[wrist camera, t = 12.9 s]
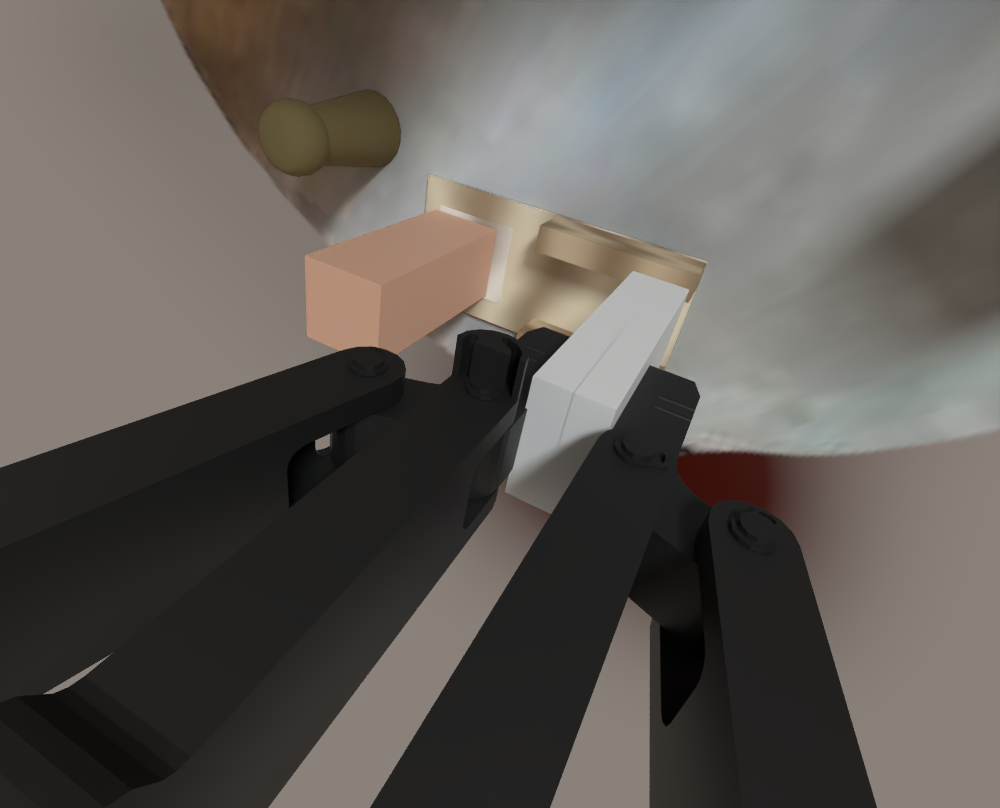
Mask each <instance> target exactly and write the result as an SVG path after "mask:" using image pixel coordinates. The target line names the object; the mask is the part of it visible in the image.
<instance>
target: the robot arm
mask: <svg viewBox="0 0 1000 808" xmlns="http://www.w3.org/2000/svg"><path fill="white" fill-rule="evenodd" d="M688 292H689V289H686V288H683V287H680V286H677V285H674V284H671V283H668V282H665V281H662V280H659V279H656V278H653V277H650V276H647V275H644V274H641V273H638V272H635V271H633V272H632V273H631V274H630V275H629V276H628V277H627V278H626V279H625V280H624V281H623V282H622V283H621V284H620V285H619V286H618V287H617V288H616V289H615V290H614V291H613V293H612V294H611V295H610V296H609V297H608V298H607V299H606V300H605V301H604V302H603V303H602V304H601V305H600V306H599V307H598V308H597V309H596V310H595V311H594V312H593V314H592V315H591V316H590V317H589V318H588V319H587V320H586V321H585V322H584V323H583V324H582V325H581V326H580V327H579V328H578V329H577V330H576V331H575V332H574V333H573V334H572V336H571V337H570V336H567V335H564V334H562V333H559V332H556V331H554V330H551V329H548V328H546V327H541V328H538V329H534V330H531V331H527V332H526V333H525V334H523V335H522V336H521V337H520V338H519V339H518V340H517V339H515V338H513V337H512V336H510V335H508V334H504V333H501V332H497V331H492V330H481V329H479V330H471V331H466V332H464V333H461V334H459V335H458V336H457V343H456V350H455V357H454V365H453V371H452V375H451V376H450V377H449V378H448V379H446V380H445V381H444V382H443V383H442V384H433V383H427V382H422V381H417V380H412V379H407V378H405V372H406V368H405V364H404V361H403V360H402V359H401V358H400V357H399V356H398V355H397V354H394V353H392V352H390V351H388V350H386V349H382V348H377V347H372V346H369V347H354V348H349V349H344V350H342V351H339V352H336V353H333V354H330V355H327V356H324V357H321V358H319V359H315V360H313V361H310V362H307V363H304V364H301V365H298V366H295V367H292V368H290V369H286V370H284V371H281V372H278V373H275V374H272V375H269V376H266V377H263V378H260V379H257V380H254V381H252V382H249V383H246V384H243V385H240V386H237V387H234V388H231V389H228V390H225V391H222V392H219V393H217V394H214V395H211V396H208V397H205V398H202V399H199V400H196V401H194V402H190V403H187V404H185V405H182V406H179V407H176V408H173V409H170V410H167V411H165V412H162V413H159V414H155V415H153V416H150V417H147V418H144V419H141V420H138V421H135V422H132V423H129V424H127V425H124V426H121V427H118V428H115V429H112V430H109V431H106V432H103V433H100V434H97V435H95V436H92V437H89V438H86V439H83V440H80V441H77V442H74V443H71V444H68V445H65V446H62V447H60V448H57V449H54V450H51V451H48V452H45V453H42V454H40V455H36V456H34V457H31V458H28V459H25V460H22V461H19V462H16V463H13V464H10V465H7V466H4V467H1V468H0V808H268V807H269V806H270V804H271V803H272V802H273V800H274V799H275V798H276V796H277V795H278V794H279V792H280V791H281V790H282V788H283V787H284V786H285V784H286V783H287V781H288V780H289V779H290V778H291V776H292V775H293V773H294V772H295V771H296V770H297V768H298V767H299V765H300V764H301V763H302V762H303V760H304V759H305V758H306V756H307V755H308V754H309V752H310V751H311V750H312V748H313V747H314V746H315V744H316V743H317V742H318V740H319V739H320V738H321V736H322V735H323V734H324V732H325V731H326V730H327V728H328V727H329V725H330V724H331V723H332V722H333V720H334V719H335V718H336V716H337V715H338V714H339V712H340V711H341V710H342V708H343V707H344V706H345V704H346V703H347V702H348V700H349V699H350V698H351V696H352V695H353V694H354V692H355V691H356V690H357V688H358V687H359V686H360V684H361V683H362V682H363V680H364V679H365V678H366V676H367V675H368V674H369V672H370V671H371V670H372V668H373V667H374V666H375V664H376V663H377V662H378V660H379V659H380V658H381V656H382V655H383V654H384V652H385V651H386V650H387V648H388V647H389V646H390V644H391V643H392V642H393V640H394V639H395V638H396V636H397V635H398V634H399V632H400V631H401V630H402V628H403V627H404V625H405V624H406V623H407V622H408V620H409V619H410V618H411V616H412V615H413V614H414V612H415V611H416V609H417V608H418V607H419V606H420V604H421V603H422V602H423V600H424V599H425V598H426V596H427V595H428V594H429V592H430V591H431V590H432V588H433V587H434V586H435V584H436V583H437V582H438V580H439V579H440V578H441V576H442V575H443V574H444V572H445V571H446V570H447V568H448V567H449V566H450V564H451V563H452V562H453V560H454V559H455V558H456V556H457V555H458V554H459V552H460V551H461V550H462V548H463V547H464V546H465V544H466V543H467V541H468V540H469V539H470V538H471V536H472V535H473V533H474V532H475V531H476V530H477V528H478V527H479V525H480V524H481V523H482V521H483V520H484V519H485V517H486V516H487V515H488V514H489V512H490V511H491V509H492V508H493V506H494V503H495V501H496V497H497V493H498V488H499V486H500V485H501V483H502V482H503V481H504V479H505V478H506V477H507V476H508V474H509V478H508V481H507V485H506V490H505V492H506V493H508V494H510V495H512V496H515V497H516V498H519V499H521V500H523V501H525V502H527V503H529V504H531V505H533V506H535V507H537V508H539V509H542V510H544V511H546V512H548V513H550V514H551V515H550V517H549V518H548V520H547V522H546V523H545V525H544V527H543V528H542V530H541V531H540V533H539V535H538V536H537V538H536V540H535V541H534V543H533V544H532V546H531V548H530V549H529V551H528V553H527V554H526V556H525V557H524V559H523V561H522V562H521V564H520V565H519V567H518V569H517V570H516V572H515V574H514V575H513V577H512V578H511V580H510V582H509V584H508V585H507V587H506V588H505V590H504V592H503V593H502V595H501V596H500V598H499V600H498V601H497V603H496V604H495V606H494V608H493V609H492V611H491V613H490V614H489V616H488V618H487V619H486V621H485V622H484V624H483V625H482V627H481V629H480V630H479V632H478V634H477V635H476V637H475V639H474V640H473V642H472V643H471V645H470V647H469V648H468V650H467V652H466V653H465V655H464V656H463V658H462V660H461V661H460V663H459V665H458V666H457V668H456V669H455V671H454V673H453V674H452V676H451V677H450V679H449V681H448V682H447V684H446V686H445V687H444V689H443V690H442V692H441V694H440V695H439V697H438V698H437V700H436V702H435V703H434V705H433V707H432V708H431V710H430V711H429V713H428V715H427V716H426V718H425V720H424V721H423V723H422V725H421V726H420V728H419V729H418V731H417V733H416V734H415V736H414V737H413V739H412V741H411V742H410V744H409V745H408V747H407V749H406V750H405V752H404V754H403V755H402V757H401V758H400V760H399V762H398V763H397V765H396V767H395V768H394V770H393V771H392V773H391V775H390V776H389V778H388V780H387V781H386V783H385V784H384V786H383V788H382V789H381V791H380V792H379V794H378V796H377V797H376V799H375V801H374V802H373V804H372V805H371V807H370V808H550V806H551V803H552V801H553V798H554V795H555V793H556V790H557V787H558V785H559V782H560V779H561V777H562V773H563V771H564V768H565V766H566V763H567V760H568V758H569V755H570V752H571V750H572V747H573V744H574V741H575V739H576V736H577V733H578V731H579V728H580V725H581V723H582V719H583V717H584V714H585V712H586V709H587V706H588V704H589V701H590V698H591V695H592V693H593V690H594V688H595V685H596V682H597V679H598V677H599V674H600V671H601V669H602V666H603V663H604V661H605V658H606V655H607V652H608V650H609V647H610V644H611V642H612V639H613V636H614V634H615V630H616V628H617V626H618V622H619V620H620V617H621V615H622V612H623V609H624V607H625V604H626V601H627V598H628V597H629V598H630V599H631V600H632V601H634V602H635V603H636V604H637V605H638V606H639V607H640V608H642V609H643V610H644V611H645V612H646V613H647V614H649V615H650V616H651V617H652V621H651V625H650V808H877V806H876V803H875V799H874V796H873V793H872V789H871V786H870V782H869V779H868V776H867V772H866V769H865V765H864V762H863V759H862V755H861V752H860V749H859V745H858V742H857V738H856V735H855V731H854V728H853V725H852V721H851V718H850V714H849V711H848V708H847V704H846V701H845V697H844V694H843V691H842V687H841V684H840V681H839V677H838V674H837V670H836V667H835V663H834V660H833V656H832V653H831V650H830V646H829V643H828V640H827V636H826V633H825V629H824V626H823V623H822V619H821V616H820V612H819V609H818V605H817V602H816V599H815V595H814V592H813V588H812V585H811V582H810V579H809V575H808V571H807V568H806V565H805V561H804V558H803V554H802V551H801V548H800V545H799V543H798V541H797V540H796V538H795V536H794V534H793V533H792V531H791V530H790V529H789V528H788V527H787V526H786V525H785V524H784V523H783V522H782V521H781V520H780V519H778V518H777V517H775V516H774V515H772V514H771V513H769V512H768V511H766V510H765V509H762V508H760V507H757V506H755V505H752V504H750V503H747V502H740V501H733V500H730V501H725V502H720V503H718V504H716V505H715V506H714V507H713V508H712V507H711V506H710V505H708V504H707V503H705V502H704V501H702V500H701V499H700V498H698V497H697V496H696V495H695V494H693V493H692V492H691V491H690V490H689V489H688V488H687V486H686V485H685V484H684V483H683V482H682V480H681V478H680V476H679V475H678V472H677V468H676V462H677V458H678V455H679V452H680V450H681V447H682V444H683V441H684V439H685V436H686V433H687V431H688V428H689V425H690V423H691V420H692V417H693V414H694V412H695V409H696V406H697V404H698V401H699V398H700V395H699V392H698V390H697V387H696V384H695V382H693V381H691V380H688V379H685V378H683V377H680V376H677V375H675V374H672V373H669V372H667V371H664V370H662V369H659V366H660V364H661V361H662V359H663V356H664V354H665V351H666V349H667V346H668V343H669V341H670V338H671V336H672V333H673V331H674V328H675V325H676V323H677V320H678V318H679V315H680V313H681V310H682V308H683V305H684V302H685V300H686V297H687V295H688ZM328 434H330V446H329V447H327V448H325V449H321V450H317V451H316V449H315V440H317V439H319V438H321V437H324V436H326V435H328ZM113 652H114V653H113ZM110 654H111V655H110ZM108 655H110V656H109V657H108V658H106V659H105V660H104V661H103V662H102V663H100V664H99V665H98V666H97V667H95V668H94V669H93V670H92V671H90V672H89V673H88V674H87V675H86V676H84V677H83V678H81V679H80V680H78V681H77V682H75V683H74V684H73V685H71V686H70V687H68V688H65V689H63V690H61V691H58V692H56V693H54V694H44V693H46V692H47V691H49V690H51V689H52V688H54V687H56V686H57V685H59V684H61V683H63V682H64V681H66V680H68V679H69V678H71V677H73V676H74V675H76V674H78V673H80V672H81V671H83V670H85V669H86V668H88V667H90V666H91V665H93V664H95V663H96V662H98V661H100V660H102V659H103V658H105V657H107V656H108Z"/></svg>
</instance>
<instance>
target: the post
mask: <svg viewBox="0 0 1000 808" xmlns="http://www.w3.org/2000/svg"><path fill="white" fill-rule="evenodd" d="M496 232H497V230H495V229H492V228H490V227H487V226H484V225H481V224H478V223H475V222H472V221H469V220H466V219H463V218H460V217H457V216H454V215H451V214H448V213H445V212H442V211H439V210H433V211H430V212H428V213H425V214H422V215H419V216H416V217H413V218H410V219H407V220H405V221H402V222H399V223H396V224H393V225H390V226H387V227H385V228H382V229H379V230H376V231H373V232H370V233H367V234H365V235H362V236H359V237H356V238H353V239H350V240H347V241H344V242H342V243H339V244H336V245H333V246H330V247H327V248H325V249H322V250H319V251H316V252H313V253H310V254H307V255H305V275H306V276H305V278H306V311H307V337H310V338H312V339H314V340H316V341H318V342H321V343H323V344H325V345H327V346H330V347H332V348H334V349H336V350H339V351H342V350H344V349H349V348H354V347H369V346H372V347H377V348H382V349H386V350H388V351H390V352H392V353H394V354H398V353H399V352H401V351H403V350H404V349H406V348H407V347H408V346H410V345H412V344H413V343H414V342H416V341H418V340H419V339H421V338H422V337H424V336H425V335H427V334H428V333H430V332H431V331H433V330H434V329H436V328H437V327H439V326H441V325H442V324H444V323H445V322H447V321H448V320H450V319H451V318H453V317H454V316H456V315H457V314H459V313H460V312H462V311H463V310H465V309H466V308H468V307H469V306H471V305H472V304H474V303H475V302H477V301H478V300H480V299H481V298H483V297H484V296H486V291H487V286H488V280H489V274H490V268H491V262H492V256H493V250H494V244H495V238H496Z"/></svg>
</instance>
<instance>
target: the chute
mask: <svg viewBox="0 0 1000 808" xmlns="http://www.w3.org/2000/svg"><path fill="white" fill-rule="evenodd" d="M433 210H439V211H442V212H445V213H448V214H451V215H454V216H457V217H460V218H463V219H466V220H469V221H472V222H475V223H478V224H481V225H484V226H487V227H490V228H492V229H495V230H497V232H496V238H495V244H494V250H493V256H492V262H491V268H490V274H489V280H488V286H487V291H486V296H484V297H483V298H481V299H480V300H478V301H477V302H475V303H474V304H472V305H471V306H469V307H468V308H466V309H465V310H463V311H462V312H465V313H467V314H470V315H472V316H475V317H478V318H480V319H483V320H485V321H488V322H490V323H493V324H496V325H498V326H501V327H503V328H506V329H508V330H511V331H514V332H516V333H517V337H516V339H517V340H518V339H519V338H520V337H521V336H522V335H523V334H525V333H526V332H527V331H531V330H534V329H538V328H541V327H546V328H548V329H551V330H554V331H556V332H559V333H562V334H564V335H567V336H570V337H571V336H572V334H573V333H574V332H575V331H576V330H577V329H578V328H579V327H580V326H581V325H582V324H583V323H584V322H585V321H586V320H587V319H588V318H589V317H590V316H591V315H592V314H593V312H594V311H595V310H596V309H597V308H598V307H599V306H600V305H601V304H602V303H603V302H604V301H605V300H606V299H607V298H608V297H609V296H610V295H611V294H612V293H613V291H614V290H615V289H616V288H617V287H618V286H619V285H620V284H621V283H622V282H623V281H624V280H625V279H626V278H627V277H628V276H629V275H630V274H631V273H632V272H633V271H635V272H638V273H641V274H644V275H647V276H650V277H653V278H656V279H659V280H662V281H665V282H668V283H671V284H674V285H677V286H680V287H683V288H686V289H689V292H688V295H687V297H686V300H685V302H684V305H683V308H682V310H681V313H680V315H679V318H678V320H677V323H676V325H675V328H674V331H673V333H672V336H671V338H670V341H669V343H668V346H667V349H666V351H665V354H664V356H663V359H662V361H661V364H660V366H659V369H662V370H665V368H666V365H667V363H668V360H669V358H670V355H671V353H672V350H673V348H674V345H675V343H676V340H677V338H678V335H679V333H680V330H681V328H682V325H683V322H684V320H685V317H686V315H687V312H688V310H689V307H690V305H691V302H692V300H693V297H694V295H695V292H696V290H697V287H698V285H699V282H700V280H701V277H702V275H703V272H704V270H705V267H706V265H707V261H704V260H701V259H698V258H695V257H692V256H688V255H685V254H682V253H679V252H676V251H673V250H669V249H666V248H663V247H660V246H657V245H654V244H650V243H647V242H644V241H641V240H638V239H634V238H631V237H628V236H625V235H622V234H619V233H615V232H612V231H609V230H606V229H603V228H600V227H596V226H593V225H590V224H587V223H584V222H581V221H577V220H574V219H571V218H568V217H565V216H561V215H558V214H555V213H552V212H549V211H546V210H542V209H539V208H536V207H533V206H530V205H527V204H523V203H520V202H517V201H514V200H511V199H507V198H504V197H501V196H498V195H495V194H492V193H488V192H485V191H482V190H479V189H476V188H473V187H469V186H466V185H463V184H460V183H457V182H454V181H450V180H447V179H444V178H441V177H438V176H434V175H429V177H428V188H427V198H426V209H425V213H428V212H430V211H433Z"/></svg>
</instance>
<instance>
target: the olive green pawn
mask: <svg viewBox="0 0 1000 808" xmlns="http://www.w3.org/2000/svg"><path fill="white" fill-rule="evenodd" d="M258 131H259V140H260V143H261V146H262V149H263V151H264V153H265V155H266V157H267V159H268V160H269V161H270V162H271V163H272V165H273V166H275V167H276V168H277V169H279V170H280V171H282V172H283V173H285V174H288V175H291V176H297V177H300V176H307V175H311V174H313V173H315V172H316V171H318V170H319V169H320V168H322V167H323V166H350V167H380V166H385V165H386V164H388V163H389V162H391V161H392V160H393V158H394V157H395V155H396V154H397V151H398V148H399V145H400V133H401V130H400V125H399V120H398V117H397V115H396V113H395V110H394V108H393V106H392V105H391V104H390V103H389V101H388V100H387V99H386V98H385V97H384V96H382V95H381V94H379V93H378V92H376V91H371V90H363V91H359V92H355V93H352V94H348V95H344V96H341V97H337V98H333V99H330V100H326V101H322V102H319V103H315V104H312V105H308V104H307V103H305V102H302V101H299V100H295V99H282V100H278V101H275V102H273V103H271V104H270V105H269V106H268V107H267V108H266V109H265V110H264V112H263V114H262V116H261V118H260V121H259V128H258Z"/></svg>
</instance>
